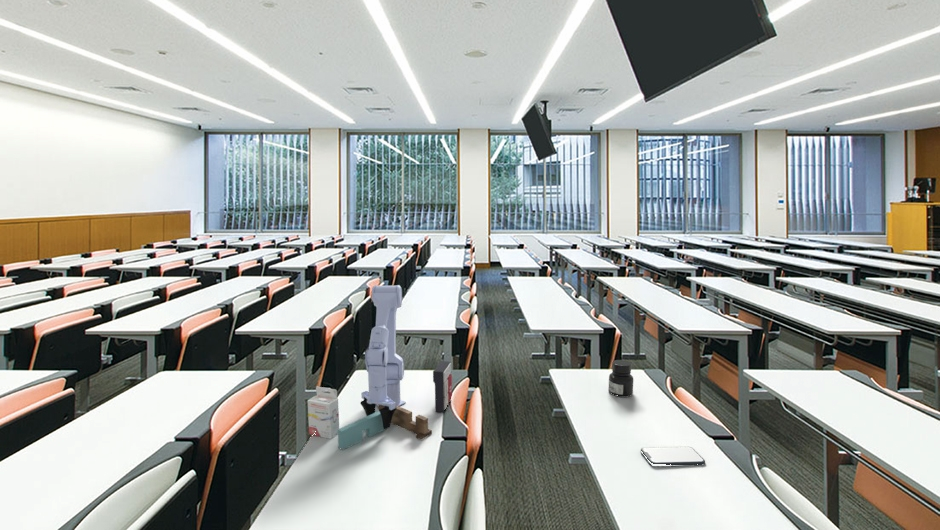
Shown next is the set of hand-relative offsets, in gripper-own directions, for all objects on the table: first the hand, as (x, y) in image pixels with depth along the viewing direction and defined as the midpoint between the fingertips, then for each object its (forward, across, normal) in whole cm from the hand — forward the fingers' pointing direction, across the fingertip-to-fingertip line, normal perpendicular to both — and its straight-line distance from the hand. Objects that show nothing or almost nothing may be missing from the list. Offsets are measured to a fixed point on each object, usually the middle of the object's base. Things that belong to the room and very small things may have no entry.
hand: (379, 424), depth 159 cm
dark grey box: (+2, +4, +26) cm, 27 cm away
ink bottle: (+2, +49, +78) cm, 92 cm away
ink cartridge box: (+2, -12, -12) cm, 17 cm away
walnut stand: (+2, +4, +6) cm, 8 cm away
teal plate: (+2, 0, -6) cm, 6 cm away
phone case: (+3, +79, +43) cm, 90 cm away
